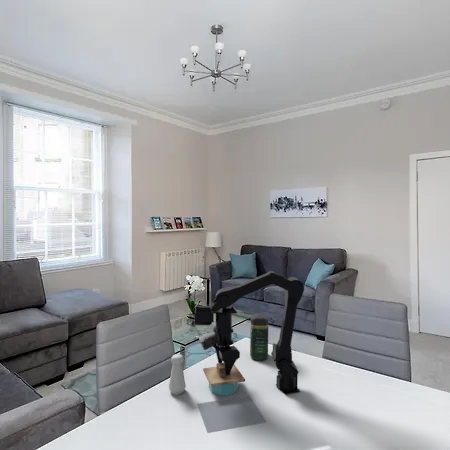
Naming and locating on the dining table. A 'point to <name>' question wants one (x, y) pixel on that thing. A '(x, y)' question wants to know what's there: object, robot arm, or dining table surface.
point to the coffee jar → (259, 336)
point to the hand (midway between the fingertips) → (223, 369)
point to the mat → (230, 414)
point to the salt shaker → (177, 375)
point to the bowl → (224, 389)
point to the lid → (223, 375)
